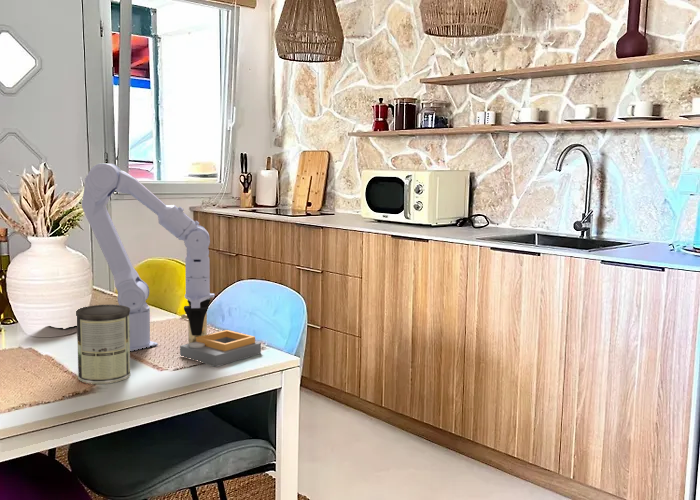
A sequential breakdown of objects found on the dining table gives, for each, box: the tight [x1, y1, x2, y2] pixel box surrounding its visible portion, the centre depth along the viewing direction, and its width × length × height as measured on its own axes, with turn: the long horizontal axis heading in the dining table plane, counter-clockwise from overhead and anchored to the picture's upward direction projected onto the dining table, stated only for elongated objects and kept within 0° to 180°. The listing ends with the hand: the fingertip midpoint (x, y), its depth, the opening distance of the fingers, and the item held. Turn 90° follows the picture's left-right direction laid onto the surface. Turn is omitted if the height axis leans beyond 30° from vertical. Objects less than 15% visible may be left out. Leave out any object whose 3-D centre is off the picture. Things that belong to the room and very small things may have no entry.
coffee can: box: [76, 304, 131, 385], centre depth 135 cm, size 10×10×14 cm
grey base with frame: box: [179, 329, 262, 368], centre depth 154 cm, size 14×12×4 cm
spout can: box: [180, 311, 208, 344], centre depth 162 cm, size 6×4×8 cm
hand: (197, 331), depth 162 cm, fingers open, 7 cm apart
